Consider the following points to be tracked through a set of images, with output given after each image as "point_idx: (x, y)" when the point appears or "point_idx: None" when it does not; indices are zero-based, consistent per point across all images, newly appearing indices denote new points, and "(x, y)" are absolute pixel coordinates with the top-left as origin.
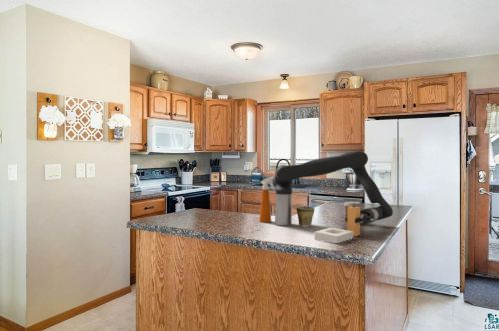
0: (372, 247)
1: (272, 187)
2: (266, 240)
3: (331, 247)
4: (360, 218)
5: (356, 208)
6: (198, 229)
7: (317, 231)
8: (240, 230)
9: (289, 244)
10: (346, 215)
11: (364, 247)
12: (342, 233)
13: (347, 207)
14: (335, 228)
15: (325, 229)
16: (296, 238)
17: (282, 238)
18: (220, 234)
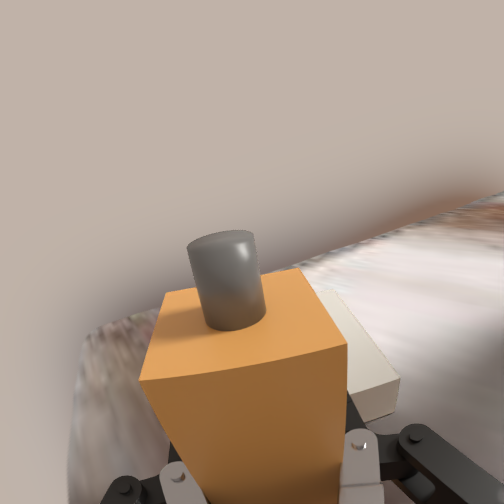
0: (87, 397)
1: None
2: (375, 244)
3: None
4: (182, 470)
5: (165, 309)
6: (489, 204)
7: (332, 296)
8: (488, 230)
9: (312, 263)
10: (414, 426)
11: (114, 379)
12: None
13: (298, 272)
14: (358, 384)
15: (357, 332)
16: (372, 285)
17: (385, 264)
18: (448, 214)
